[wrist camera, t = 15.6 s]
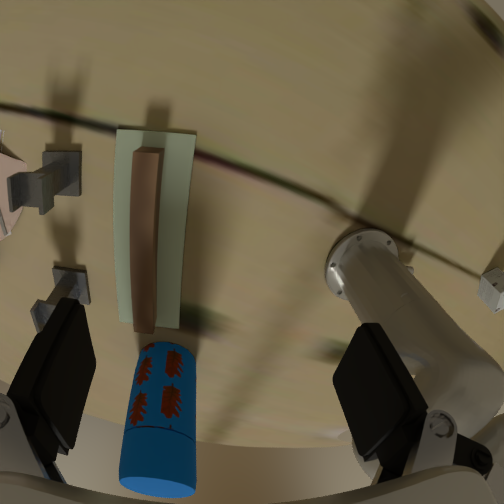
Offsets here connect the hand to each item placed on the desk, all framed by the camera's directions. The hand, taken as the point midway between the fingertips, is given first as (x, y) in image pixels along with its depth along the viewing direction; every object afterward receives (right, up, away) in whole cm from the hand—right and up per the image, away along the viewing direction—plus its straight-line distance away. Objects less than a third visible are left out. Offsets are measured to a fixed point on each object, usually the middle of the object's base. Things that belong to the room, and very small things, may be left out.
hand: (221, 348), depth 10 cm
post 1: (-24, +14, +24) cm, 37 cm away
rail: (-13, +4, +30) cm, 33 cm away
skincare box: (+54, -3, +43) cm, 69 cm away
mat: (-13, +5, +31) cm, 34 cm away
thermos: (-14, -17, +42) cm, 47 cm away
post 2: (-27, -2, +32) cm, 42 cm away
